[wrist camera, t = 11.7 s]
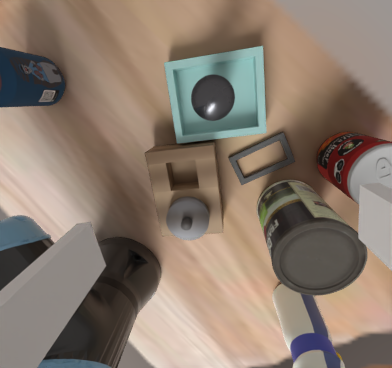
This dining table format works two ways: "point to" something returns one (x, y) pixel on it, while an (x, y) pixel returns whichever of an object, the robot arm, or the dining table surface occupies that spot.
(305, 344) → the water bottle
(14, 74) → the soda can
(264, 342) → the dining table surface
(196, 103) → the pin
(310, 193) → the coffee can
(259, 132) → the tray
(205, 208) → the block
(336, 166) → the canned food
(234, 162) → the gray rectangular frame
